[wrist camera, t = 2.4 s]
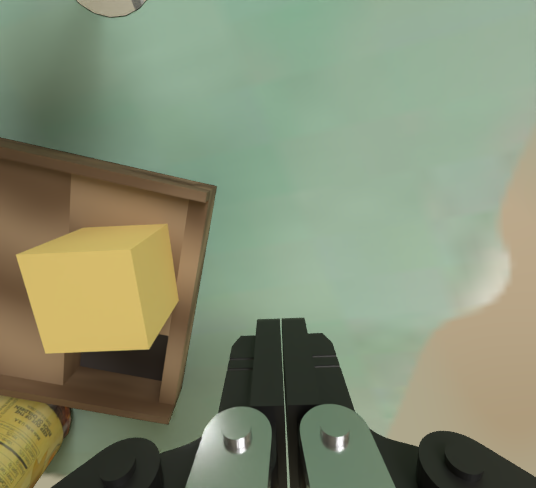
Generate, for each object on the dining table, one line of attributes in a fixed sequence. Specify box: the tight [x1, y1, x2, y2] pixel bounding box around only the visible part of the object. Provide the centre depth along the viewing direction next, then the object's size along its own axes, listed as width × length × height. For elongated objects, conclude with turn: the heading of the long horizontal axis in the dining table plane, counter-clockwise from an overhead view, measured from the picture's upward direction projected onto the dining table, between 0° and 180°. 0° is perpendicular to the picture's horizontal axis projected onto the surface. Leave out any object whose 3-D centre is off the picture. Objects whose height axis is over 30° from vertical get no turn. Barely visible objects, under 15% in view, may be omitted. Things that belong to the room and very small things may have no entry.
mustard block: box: [16, 224, 179, 354], centre depth 15 cm, size 4×4×4 cm
